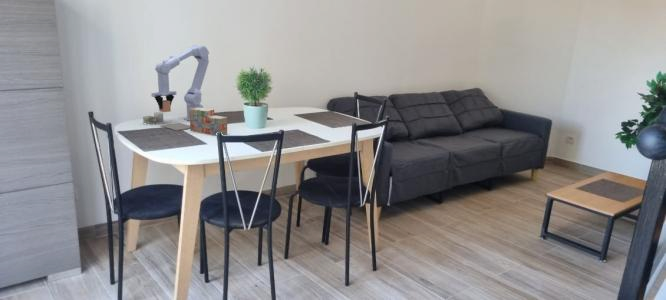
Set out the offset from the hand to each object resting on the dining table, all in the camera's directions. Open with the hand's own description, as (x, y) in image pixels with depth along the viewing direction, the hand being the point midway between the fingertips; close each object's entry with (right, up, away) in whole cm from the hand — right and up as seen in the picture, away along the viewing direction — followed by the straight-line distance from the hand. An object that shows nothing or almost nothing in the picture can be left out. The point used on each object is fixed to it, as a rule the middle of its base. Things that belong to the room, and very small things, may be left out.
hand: (164, 108), depth 274 cm
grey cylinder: (-6, -7, +6) cm, 11 cm away
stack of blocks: (+29, -15, -17) cm, 37 cm away
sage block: (-9, -9, 0) cm, 12 cm away
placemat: (+10, -11, -7) cm, 16 cm away
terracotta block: (0, -2, 0) cm, 2 cm away
